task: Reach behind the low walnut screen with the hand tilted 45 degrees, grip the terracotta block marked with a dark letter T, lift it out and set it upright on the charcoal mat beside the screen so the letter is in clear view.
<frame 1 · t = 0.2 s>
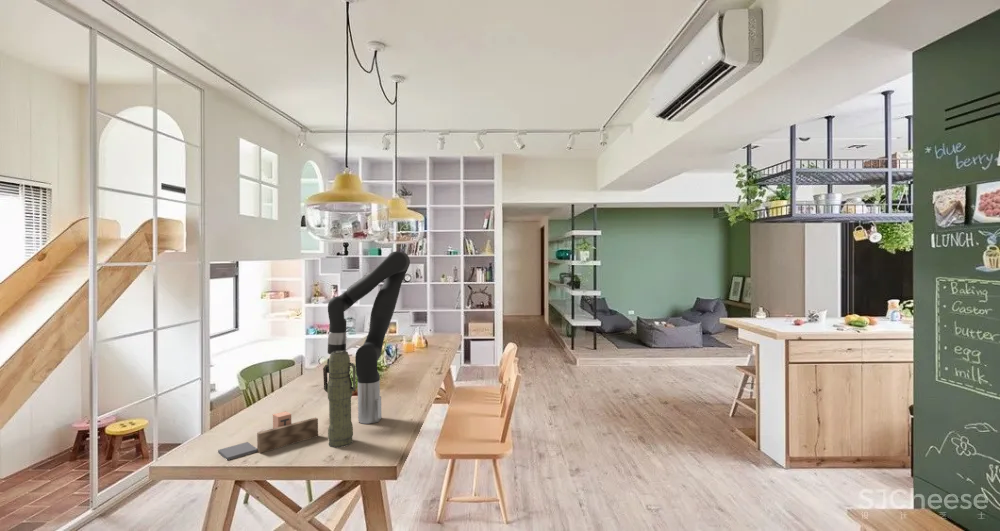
hand: (335, 379, 205), 18 cm above the table, tool pointing down, fingers open, 8 cm apart
marked block: (282, 439, 184), on the table
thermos: (340, 443, 180), on the table
walnut screen: (289, 443, 180), on the table
charcoal mat: (237, 452, 173), on the table
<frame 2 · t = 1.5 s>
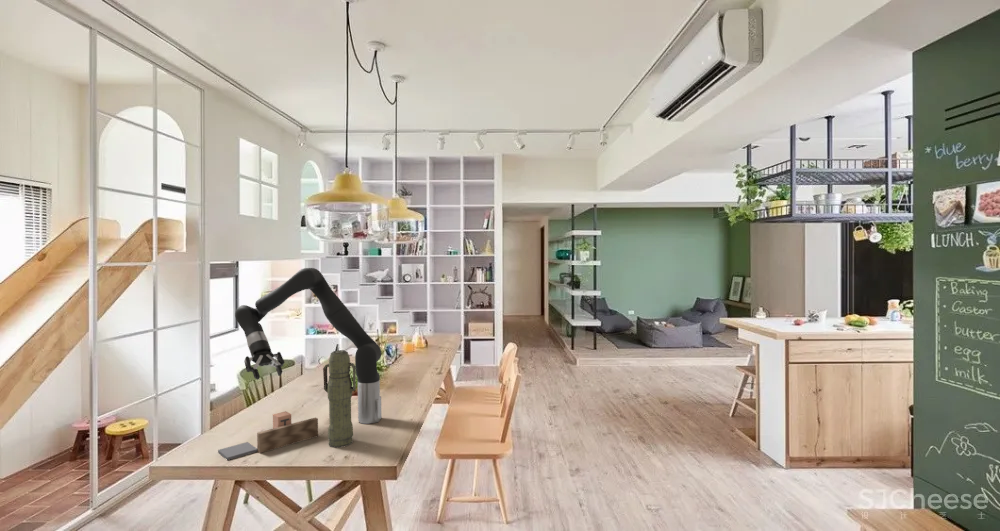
hand: (269, 376, 192), 23 cm above the table, tool tilted 45°, fingers open, 8 cm apart
nothing on the table moved.
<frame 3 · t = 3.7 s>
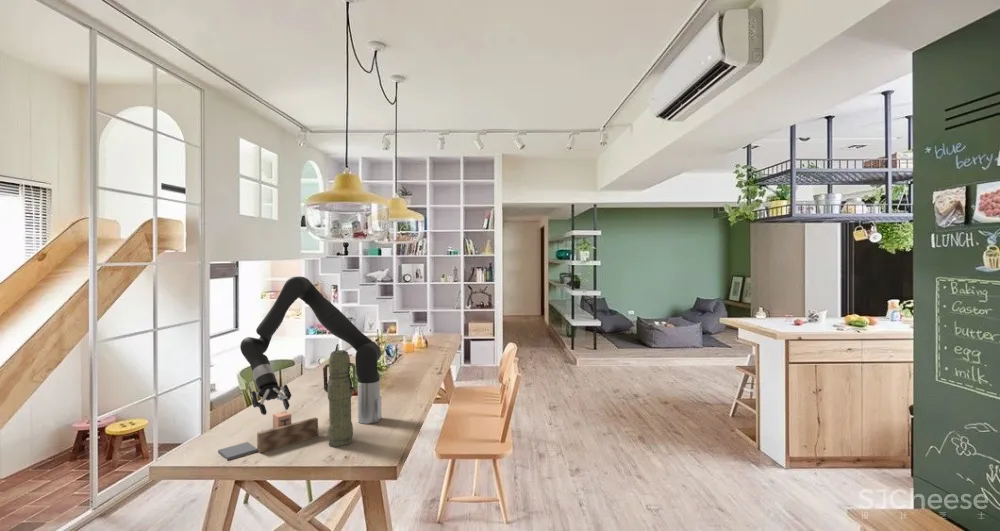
hand: (276, 411, 188), 10 cm above the table, tool tilted 45°, fingers open, 8 cm apart
nothing on the table moved.
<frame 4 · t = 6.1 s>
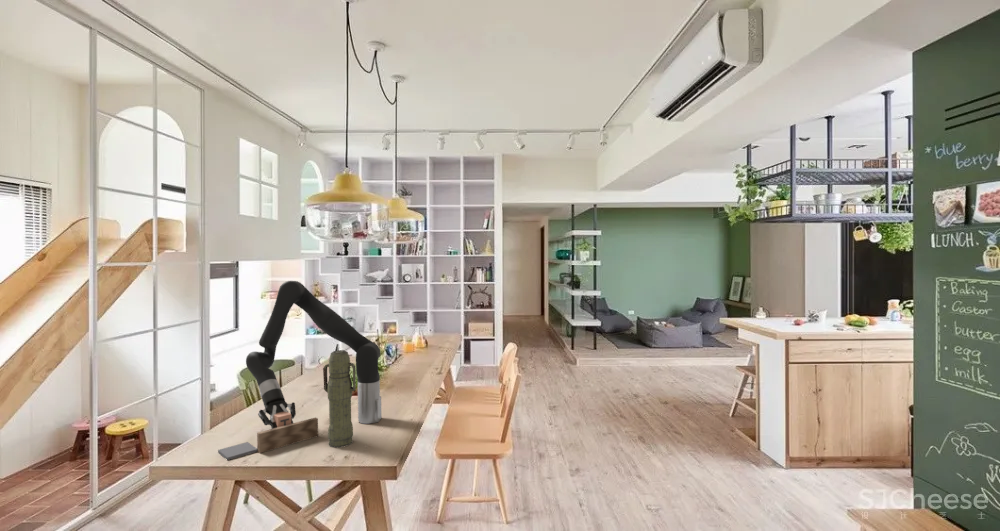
hand: (284, 430, 183), 4 cm above the table, tool tilted 45°, fingers closed on marked block, 5 cm apart
marked block: (282, 439, 184), on the table, touching gripper
everything else where it was.
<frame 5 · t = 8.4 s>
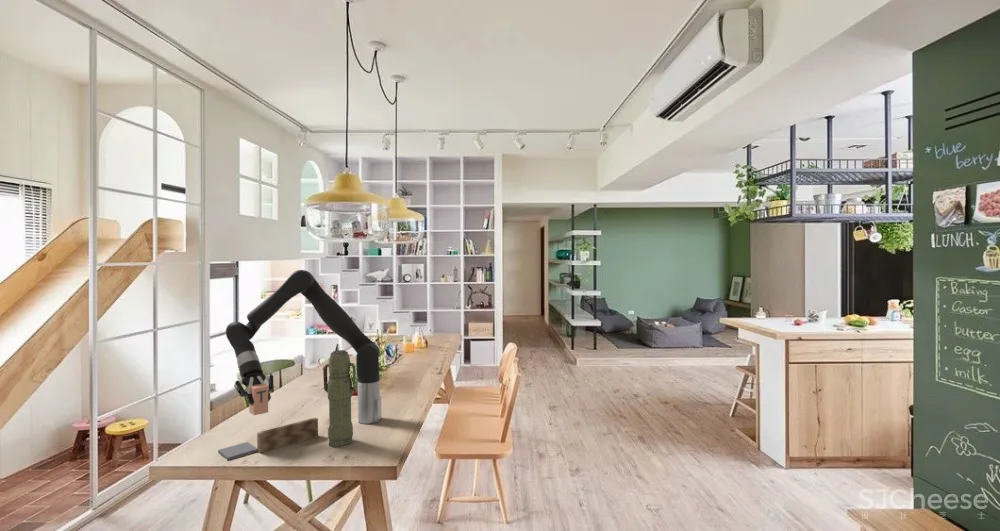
hand: (260, 402, 177), 17 cm above the table, tool tilted 45°, fingers closed on marked block, 5 cm apart
marked block: (258, 412, 179), point 13 cm above the table, touching gripper
everything else where it was.
when the fingers open (7 cm above the table, at t = 11.2 s): marked block drops 1 cm, resting on charcoal mat.
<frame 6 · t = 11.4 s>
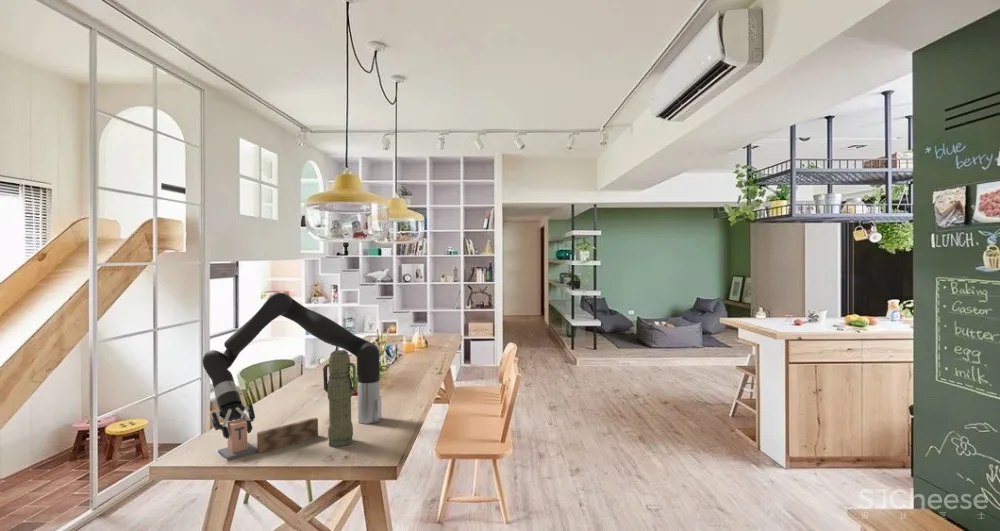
hand: (239, 434, 172), 7 cm above the table, tool tilted 45°, fingers open, 6 cm apart
marked block: (237, 449, 173), point 1 cm above the table, touching charcoal mat
everything else where it was.
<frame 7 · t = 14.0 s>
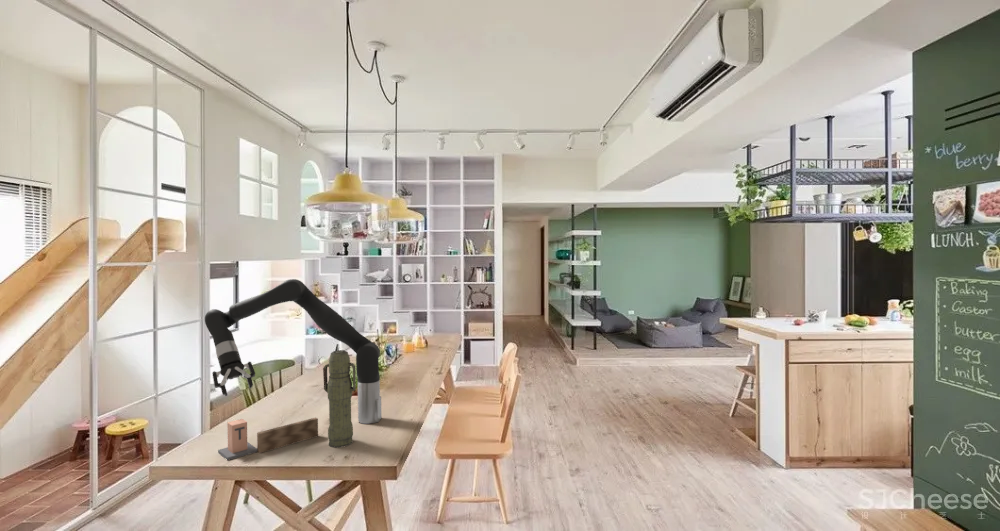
hand: (238, 391, 185), 19 cm above the table, tool tilted 35°, fingers open, 8 cm apart
nothing on the table moved.
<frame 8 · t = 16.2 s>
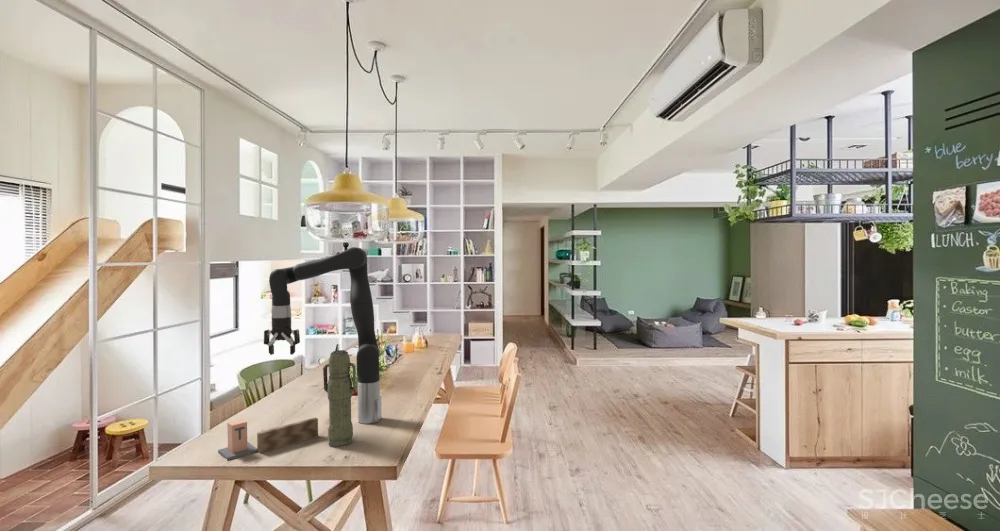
hand: (282, 354, 200), 30 cm above the table, tool pointing down, fingers open, 8 cm apart
nothing on the table moved.
at the end: marked block inside the target area on the charcoal mat (0.1 cm from its centre), point 1.0 cm above the charcoal mat's base; marked block tilted 0°; the gripper is holding nothing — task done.
